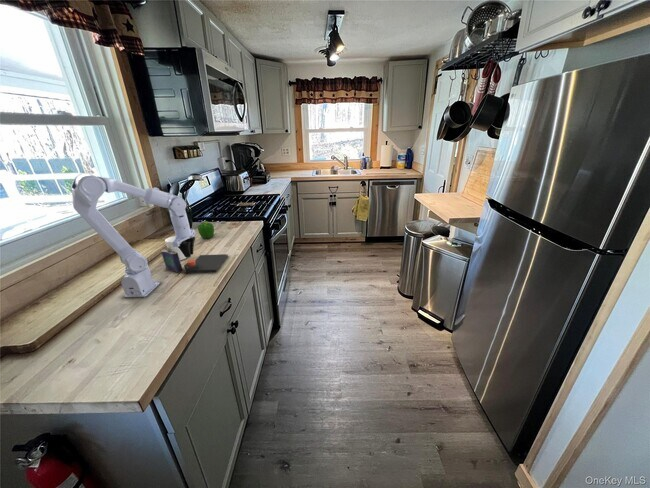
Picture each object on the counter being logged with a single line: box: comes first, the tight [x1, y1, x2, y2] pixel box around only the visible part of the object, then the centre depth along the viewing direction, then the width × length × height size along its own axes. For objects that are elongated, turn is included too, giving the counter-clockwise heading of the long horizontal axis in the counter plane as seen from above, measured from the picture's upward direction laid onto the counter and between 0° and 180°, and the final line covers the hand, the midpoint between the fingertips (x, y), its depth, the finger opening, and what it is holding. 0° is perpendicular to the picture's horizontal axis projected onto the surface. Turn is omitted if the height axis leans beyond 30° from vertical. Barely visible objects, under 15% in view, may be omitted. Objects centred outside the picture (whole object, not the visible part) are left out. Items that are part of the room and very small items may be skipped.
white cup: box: [164, 235, 188, 261], centre depth 122 cm, size 8×8×10 cm
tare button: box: [186, 259, 196, 266], centre depth 111 cm, size 3×3×2 cm
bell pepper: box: [197, 220, 215, 240], centre depth 146 cm, size 8×8×10 cm
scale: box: [183, 253, 229, 274], centre depth 116 cm, size 16×14×3 cm
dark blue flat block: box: [160, 247, 184, 273], centre depth 111 cm, size 9×3×11 cm, turn 65°
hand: (189, 255), depth 110 cm, fingers closed
